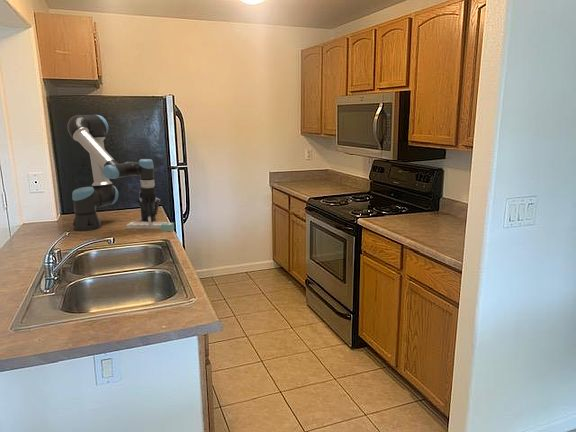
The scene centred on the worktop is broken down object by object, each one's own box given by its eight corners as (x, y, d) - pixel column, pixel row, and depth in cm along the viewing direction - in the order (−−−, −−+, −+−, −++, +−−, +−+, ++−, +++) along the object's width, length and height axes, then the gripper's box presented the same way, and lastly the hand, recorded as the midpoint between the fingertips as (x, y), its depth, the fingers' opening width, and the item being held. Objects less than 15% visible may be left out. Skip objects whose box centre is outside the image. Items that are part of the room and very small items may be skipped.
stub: (161, 231, 244) (160, 224, 243) (164, 229, 249) (163, 222, 248) (171, 231, 244) (171, 224, 243) (174, 229, 249) (173, 222, 248)
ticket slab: (126, 228, 251) (126, 224, 251) (132, 224, 259) (131, 221, 258) (163, 228, 250) (163, 225, 249) (167, 225, 258) (167, 221, 257)
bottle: (153, 222, 265) (149, 173, 258) (138, 222, 265) (134, 174, 258) (158, 218, 274) (154, 171, 267) (143, 218, 274) (139, 172, 267)
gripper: (133, 188, 238) (137, 229, 244) (156, 188, 238) (159, 229, 243) (139, 185, 245) (142, 225, 251) (161, 186, 245) (164, 226, 250)
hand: (150, 227), depth 247 cm, fingers closed
